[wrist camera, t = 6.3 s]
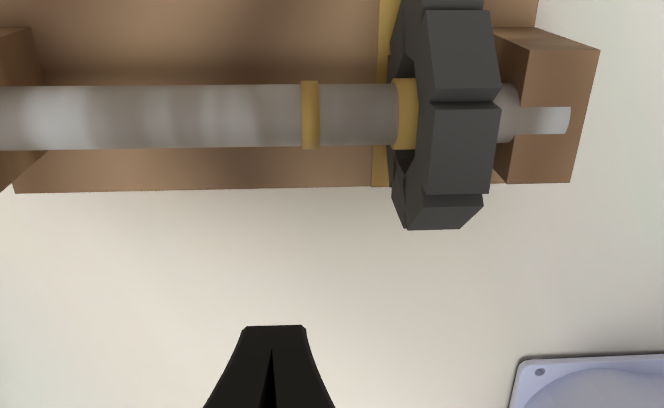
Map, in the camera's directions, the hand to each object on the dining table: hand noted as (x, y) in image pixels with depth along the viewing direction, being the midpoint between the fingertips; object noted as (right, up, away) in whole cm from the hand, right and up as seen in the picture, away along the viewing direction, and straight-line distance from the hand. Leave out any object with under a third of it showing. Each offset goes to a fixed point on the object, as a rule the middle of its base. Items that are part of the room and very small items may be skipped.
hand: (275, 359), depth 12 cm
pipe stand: (-1, +8, +7) cm, 11 cm away
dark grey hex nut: (+4, +8, +7) cm, 11 cm away
